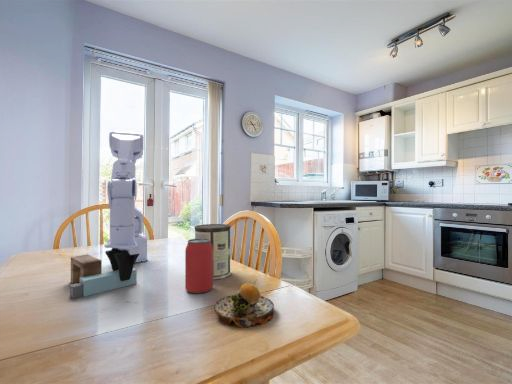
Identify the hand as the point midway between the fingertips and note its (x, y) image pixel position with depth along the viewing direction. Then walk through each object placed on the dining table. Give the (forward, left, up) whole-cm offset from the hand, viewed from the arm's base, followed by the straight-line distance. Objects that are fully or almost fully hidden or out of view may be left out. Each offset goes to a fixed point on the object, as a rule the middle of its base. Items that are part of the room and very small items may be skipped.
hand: (122, 278), depth 68 cm
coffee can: (-21, +11, -2) cm, 24 cm away
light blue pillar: (+3, 0, -2) cm, 3 cm away
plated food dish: (-9, +35, -2) cm, 36 cm away
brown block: (+6, -7, -2) cm, 10 cm away
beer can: (-11, +18, -2) cm, 21 cm away
